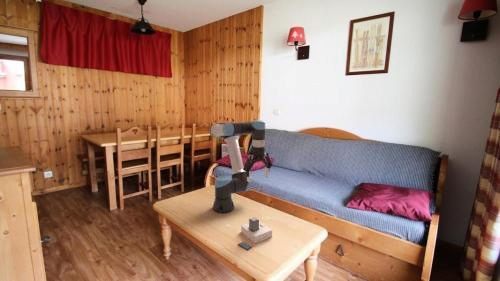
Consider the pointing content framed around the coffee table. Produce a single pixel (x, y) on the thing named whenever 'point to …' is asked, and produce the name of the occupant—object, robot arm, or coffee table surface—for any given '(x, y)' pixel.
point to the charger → (253, 224)
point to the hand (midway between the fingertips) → (257, 179)
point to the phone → (244, 245)
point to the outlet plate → (257, 232)
